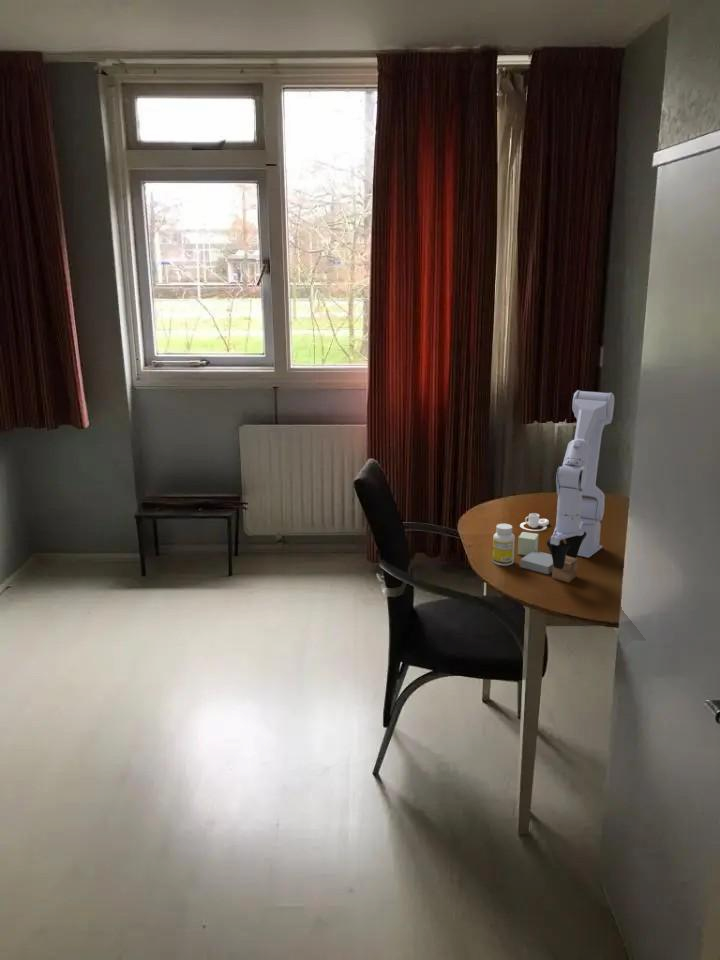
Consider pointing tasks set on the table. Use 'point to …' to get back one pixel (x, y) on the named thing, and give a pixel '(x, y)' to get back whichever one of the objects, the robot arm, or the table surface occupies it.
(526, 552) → the sage block
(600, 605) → the table surface
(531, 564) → the slate slab
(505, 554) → the supplement bottle
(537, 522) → the teacup and saucer
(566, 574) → the walnut block
